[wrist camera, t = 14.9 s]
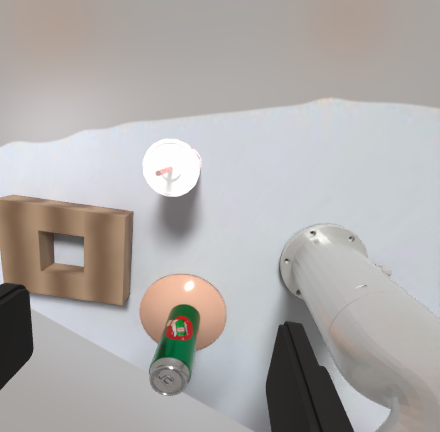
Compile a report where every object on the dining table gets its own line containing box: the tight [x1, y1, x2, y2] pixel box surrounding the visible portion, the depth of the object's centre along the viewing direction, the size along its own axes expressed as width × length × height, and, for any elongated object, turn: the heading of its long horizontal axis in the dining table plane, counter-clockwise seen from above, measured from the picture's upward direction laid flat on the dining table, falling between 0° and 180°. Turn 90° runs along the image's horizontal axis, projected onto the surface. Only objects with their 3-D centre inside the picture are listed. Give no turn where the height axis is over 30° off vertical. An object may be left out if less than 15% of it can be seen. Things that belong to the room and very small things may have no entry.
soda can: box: [149, 304, 200, 396], centre depth 35 cm, size 5×5×12 cm
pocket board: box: [0, 195, 133, 305], centre depth 38 cm, size 18×14×3 cm
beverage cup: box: [143, 139, 202, 197], centre depth 29 cm, size 6×6×14 cm
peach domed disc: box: [140, 274, 226, 350], centre depth 42 cm, size 14×14×1 cm
